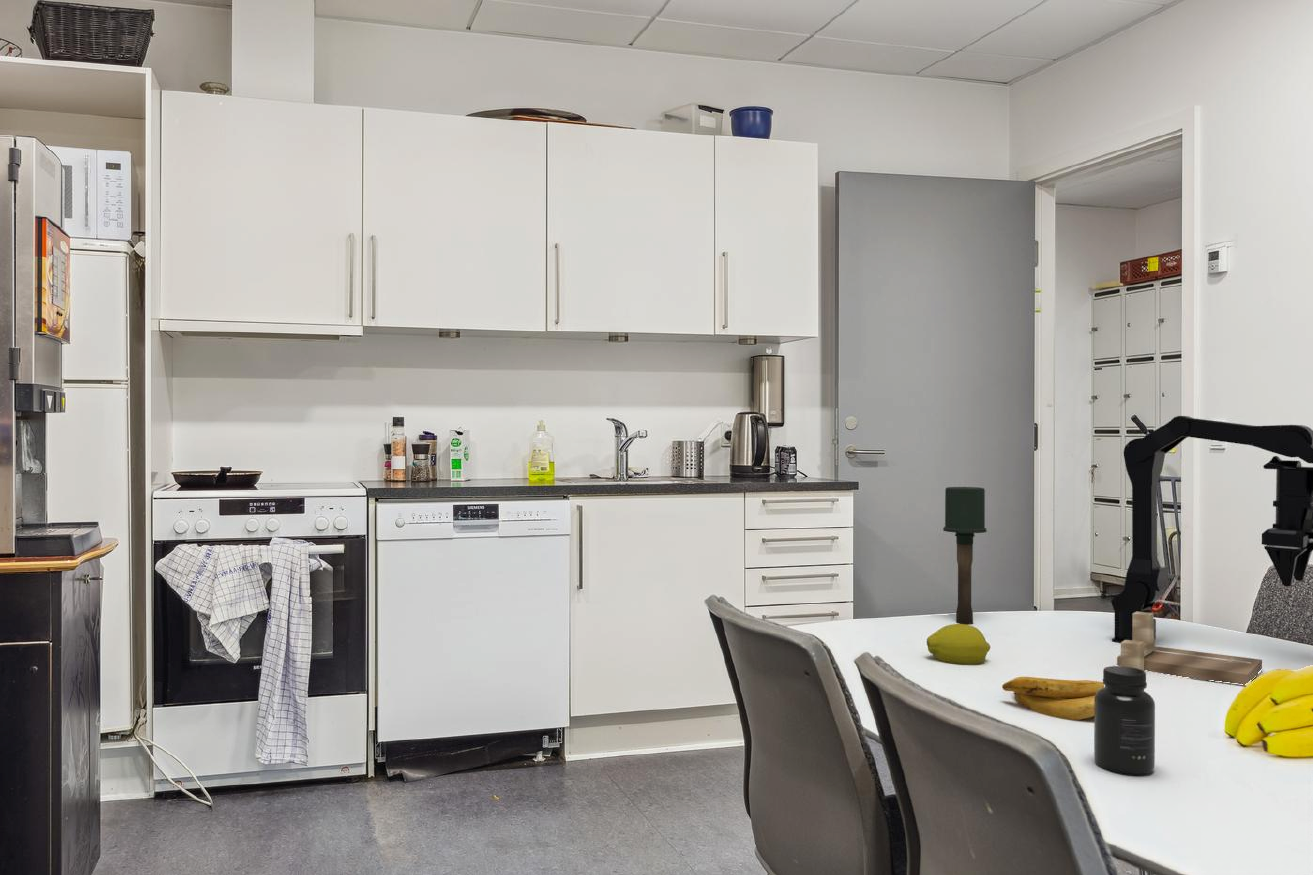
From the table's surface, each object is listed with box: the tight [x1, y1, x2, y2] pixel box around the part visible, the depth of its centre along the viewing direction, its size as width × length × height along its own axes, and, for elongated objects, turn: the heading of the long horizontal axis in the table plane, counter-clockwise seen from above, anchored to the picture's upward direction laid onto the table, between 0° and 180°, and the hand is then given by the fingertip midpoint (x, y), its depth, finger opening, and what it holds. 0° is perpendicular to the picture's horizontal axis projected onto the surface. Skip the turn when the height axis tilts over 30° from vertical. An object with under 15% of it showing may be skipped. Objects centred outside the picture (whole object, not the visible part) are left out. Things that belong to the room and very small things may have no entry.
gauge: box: [1120, 612, 1156, 672], centre depth 177 cm, size 3×13×9 cm, turn 141°
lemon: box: [926, 623, 991, 666], centre depth 175 cm, size 11×8×8 cm
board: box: [1116, 645, 1263, 685], centre depth 175 cm, size 20×14×2 cm
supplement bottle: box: [1093, 665, 1156, 776], centre depth 124 cm, size 7×7×12 cm
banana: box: [1001, 676, 1105, 721], centre depth 149 cm, size 15×19×6 cm
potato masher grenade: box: [942, 486, 987, 626], centre depth 207 cm, size 8×9×30 cm
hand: (1293, 583), depth 178 cm, fingers open, 9 cm apart
